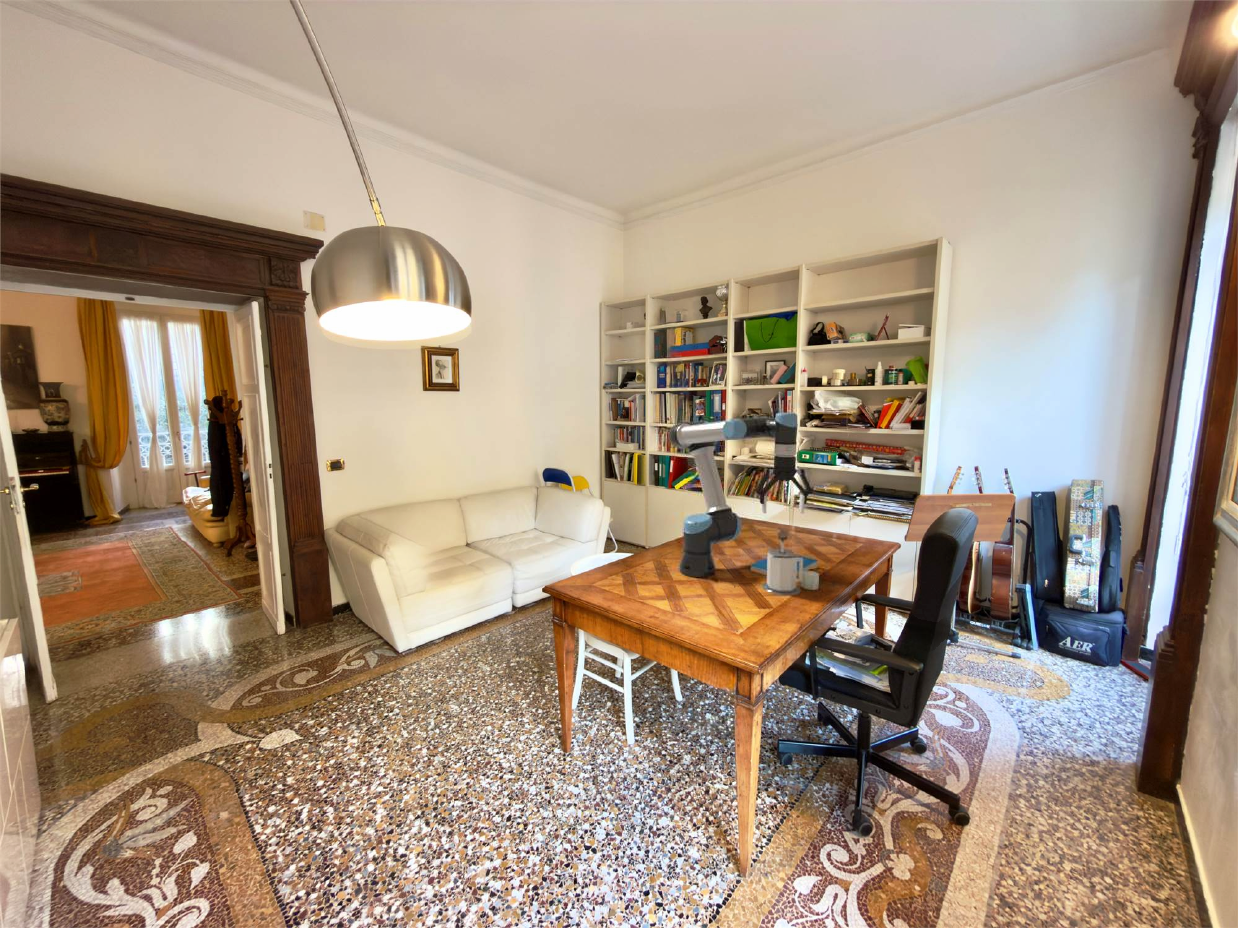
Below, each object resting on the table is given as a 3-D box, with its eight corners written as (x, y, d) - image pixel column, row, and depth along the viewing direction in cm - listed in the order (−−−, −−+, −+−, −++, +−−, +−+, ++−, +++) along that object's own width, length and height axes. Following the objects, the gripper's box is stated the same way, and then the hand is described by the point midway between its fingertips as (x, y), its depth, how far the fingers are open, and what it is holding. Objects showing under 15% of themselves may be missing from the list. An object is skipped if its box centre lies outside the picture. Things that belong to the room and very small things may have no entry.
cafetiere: (763, 582, 187) (764, 548, 185) (796, 582, 186) (798, 547, 184) (771, 593, 176) (772, 557, 174) (806, 593, 176) (807, 556, 174)
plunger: (775, 569, 182) (776, 529, 180) (785, 569, 182) (786, 528, 180) (778, 572, 179) (779, 531, 176) (788, 572, 178) (789, 531, 176)
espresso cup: (799, 585, 185) (799, 570, 184) (814, 585, 185) (815, 570, 184) (805, 593, 178) (806, 577, 177) (822, 593, 177) (822, 577, 177)
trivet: (757, 582, 189) (757, 580, 188) (793, 582, 188) (794, 580, 188) (767, 597, 175) (767, 595, 175) (806, 597, 174) (806, 595, 174)
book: (817, 559, 203) (788, 574, 187) (817, 569, 204) (787, 584, 187) (780, 550, 216) (749, 563, 199) (780, 559, 216) (749, 573, 200)
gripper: (752, 457, 171) (751, 515, 174) (823, 456, 170) (820, 515, 173) (748, 454, 179) (746, 509, 182) (816, 454, 178) (813, 509, 181)
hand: (782, 512), depth 178 cm, fingers open, 13 cm apart
